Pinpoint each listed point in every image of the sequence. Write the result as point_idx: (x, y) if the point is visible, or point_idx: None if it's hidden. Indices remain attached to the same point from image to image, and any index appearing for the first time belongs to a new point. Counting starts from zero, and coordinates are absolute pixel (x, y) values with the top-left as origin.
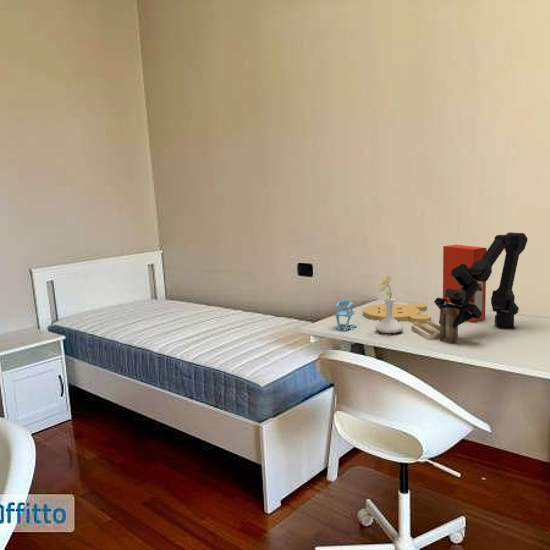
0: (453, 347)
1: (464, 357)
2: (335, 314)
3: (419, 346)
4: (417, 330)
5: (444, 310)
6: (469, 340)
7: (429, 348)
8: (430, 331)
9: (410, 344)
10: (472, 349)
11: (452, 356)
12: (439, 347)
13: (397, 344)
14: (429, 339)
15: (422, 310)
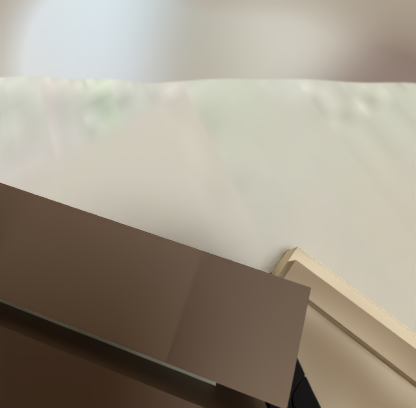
0: (118, 196)
1: (37, 92)
2: None
3: (267, 125)
4: None
5: (175, 245)
6: None
7: (214, 123)
8: (306, 269)
9: (319, 131)
10: None
11: (86, 79)
12: (180, 160)
13: (366, 101)
14: (285, 253)
15: None
